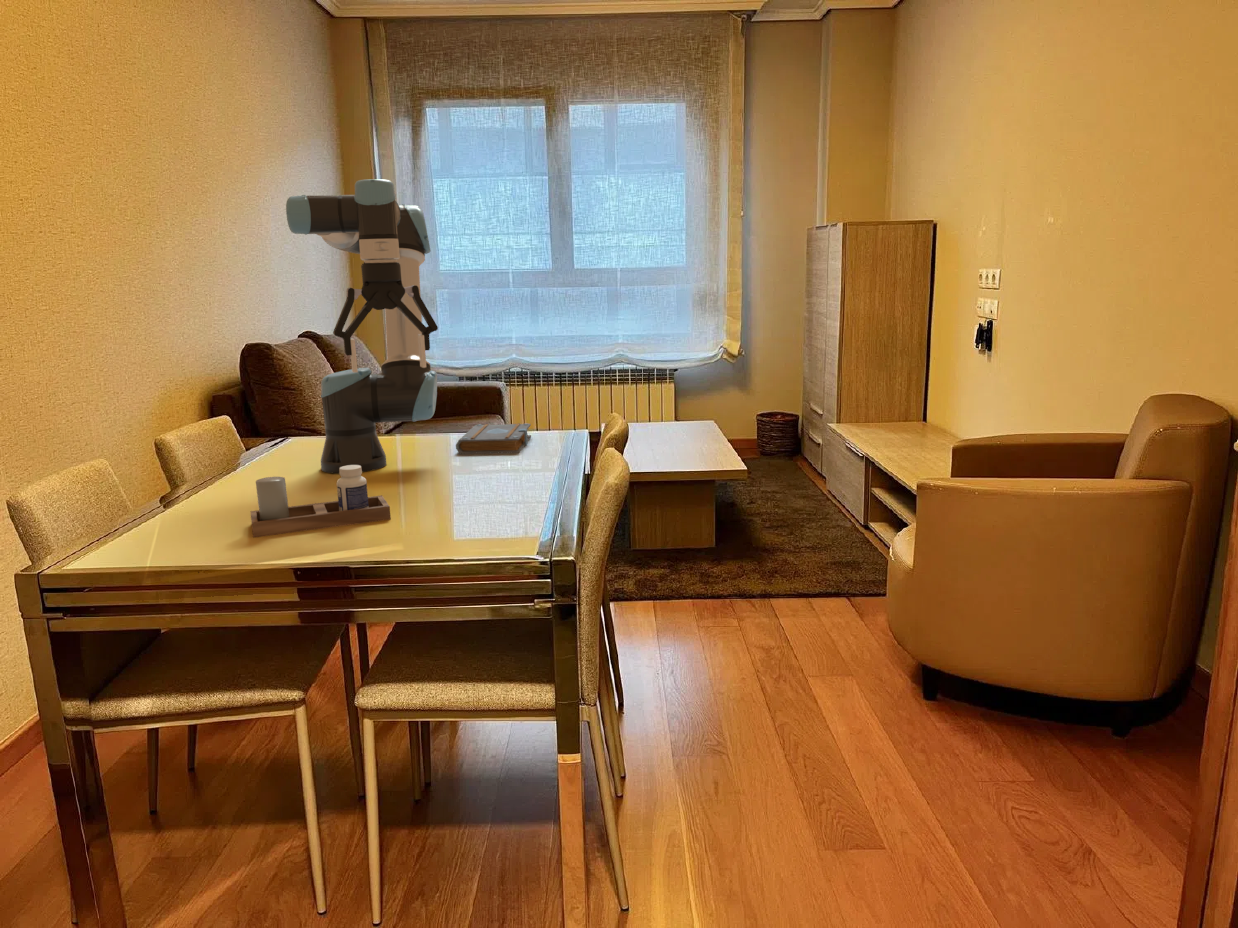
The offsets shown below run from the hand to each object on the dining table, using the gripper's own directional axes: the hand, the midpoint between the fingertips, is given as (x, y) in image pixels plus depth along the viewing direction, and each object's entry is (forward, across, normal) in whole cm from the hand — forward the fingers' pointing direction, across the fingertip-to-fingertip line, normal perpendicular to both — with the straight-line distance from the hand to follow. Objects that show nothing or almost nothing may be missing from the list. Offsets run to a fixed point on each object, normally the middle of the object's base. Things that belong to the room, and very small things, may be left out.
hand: (389, 369), depth 185 cm
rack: (+27, -17, -15) cm, 35 cm away
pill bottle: (+26, -11, -15) cm, 32 cm away
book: (+27, +32, +43) cm, 61 cm away
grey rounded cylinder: (+26, -25, -15) cm, 39 cm away
